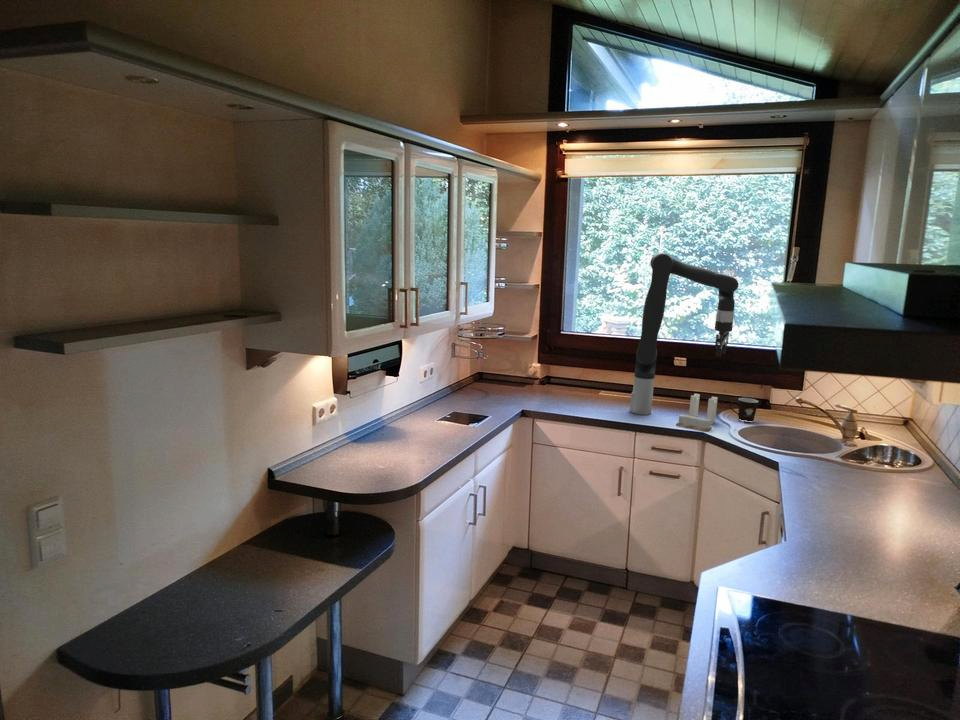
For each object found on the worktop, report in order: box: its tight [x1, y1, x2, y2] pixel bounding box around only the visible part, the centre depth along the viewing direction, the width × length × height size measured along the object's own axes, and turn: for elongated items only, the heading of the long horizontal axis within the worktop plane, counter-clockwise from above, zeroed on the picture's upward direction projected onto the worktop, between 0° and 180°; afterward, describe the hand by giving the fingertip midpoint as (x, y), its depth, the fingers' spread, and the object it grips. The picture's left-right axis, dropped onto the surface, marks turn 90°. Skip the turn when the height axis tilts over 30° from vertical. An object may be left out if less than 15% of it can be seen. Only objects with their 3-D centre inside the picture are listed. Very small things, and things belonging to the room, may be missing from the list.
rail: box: [678, 413, 712, 429], centre depth 294 cm, size 13×4×4 cm, turn 57°
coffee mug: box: [729, 397, 759, 422], centre depth 308 cm, size 12×9×10 cm
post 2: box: [705, 396, 719, 425], centre depth 302 cm, size 2×6×12 cm, turn 147°
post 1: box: [688, 393, 701, 417], centre depth 306 cm, size 2×6×12 cm, turn 147°
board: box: [675, 421, 712, 433], centre depth 294 cm, size 14×6×1 cm, turn 57°
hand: (720, 355), depth 304 cm, fingers open, 8 cm apart
